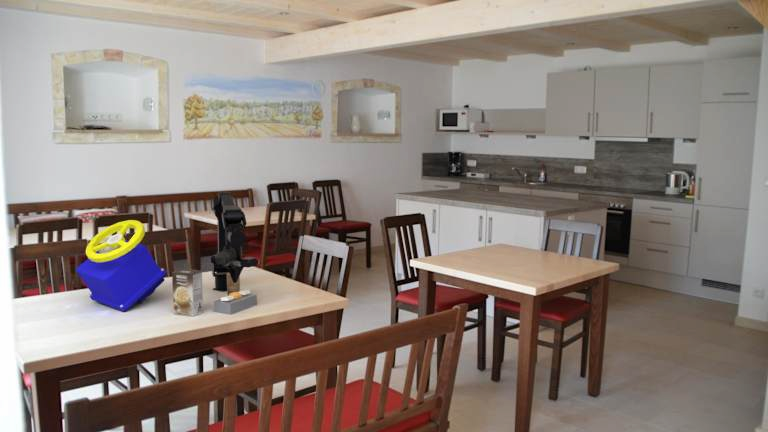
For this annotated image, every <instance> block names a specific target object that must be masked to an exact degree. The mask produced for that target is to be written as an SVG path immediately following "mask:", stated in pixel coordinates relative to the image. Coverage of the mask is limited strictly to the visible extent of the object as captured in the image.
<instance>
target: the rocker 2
mask: <svg viewBox="0 0 768 432" xmlns="http://www.w3.org/2000/svg"><path fill="white" fill-rule="evenodd" d="M237 293H240V294H242V295H246V294H251V291H250V289H247V290H246V289H245V290H240V291H239V292H237Z"/></svg>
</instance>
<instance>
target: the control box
mask: <svg viewBox="0 0 768 432" xmlns="http://www.w3.org/2000/svg"><path fill="white" fill-rule="evenodd" d="M129 229H134V230H136V231H135V233H134V234H133V236H132V237H131V238H130V239H129V240H128V239H125V237H124V235H125V234H126V232H127V231H128V230H129ZM112 234H114V235H112ZM145 234H146V229H145V226H144V225H143V223H142V222H140V221H139V220H135V219H128V220H124V221H119V222H116V223H114V224H112V225H109V226H108V227H106V228H104V229H102V230H101V231H100V232H98V233H97V234H95V236H93V238H92V239H91V240H90V241H89V243H88V244H87V245H86V247H85V255H86V256H87V258H88V259H86V260H85V261H84V262H82V263H81V264H80V265H79V266H78V267H76V269H75V272H76V273H77V274H78V277H80V279H81V281H82V282H83V283H84V284H85V286H86V287H87V289H88V290H89V291H90V293H89V298H90V300H92V301H93V302H97V303H100V304H103V305H104V306H107V307H110V308H112V309H115V310H118V311H120V312H123V313H126V312H127V311H128V310H130V308H131V307H132V306H134V305H135V304H136V303H137V302H139V303H142V302H143V301H144V300H145V299H146V298H147V297H149V296H152V295H153V294H154V293H155V292H156V290H157V288H158V287H160V285H161V284H163V283H164V282H165V278H164V277H165V276H166V275H168V272H167V271H166V269H164V268H163V267H162V268H161V267H159V265H158V264H157V262H156V260H155V259H154V257H153V256H152V254H151V252H150V251H149V249H148V248H147V246H146V244H141V242H142V240H143V238H144V236H145ZM110 235H111V236H110ZM107 237H109V238H108V239H107V240H106V241H105V242H102V241H104V240H105V239H106V238H107ZM101 242H102V243H101ZM100 243H101V244H100Z"/></svg>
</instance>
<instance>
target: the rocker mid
mask: <svg viewBox="0 0 768 432" xmlns="http://www.w3.org/2000/svg"><path fill="white" fill-rule="evenodd" d="M229 296H234V299H238V298H241V297H242V294H240V293H237V292H233V293H230V294H229Z"/></svg>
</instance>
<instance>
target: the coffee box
mask: <svg viewBox="0 0 768 432" xmlns="http://www.w3.org/2000/svg"><path fill="white" fill-rule="evenodd" d="M171 278H172V280H171V281H172V301H173V302H172V305H173V306H172V307H173V308H172V309H173V315H178V316H187V317H193V318H194V317H196V316H198V315H201V314H202V313H204V307H203V306H204V305H203V303H204V301H203V299H204V298H203V270H201V269H200V270H198V269H190V268H180V269H177V270H174V271H172V272H171Z"/></svg>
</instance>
